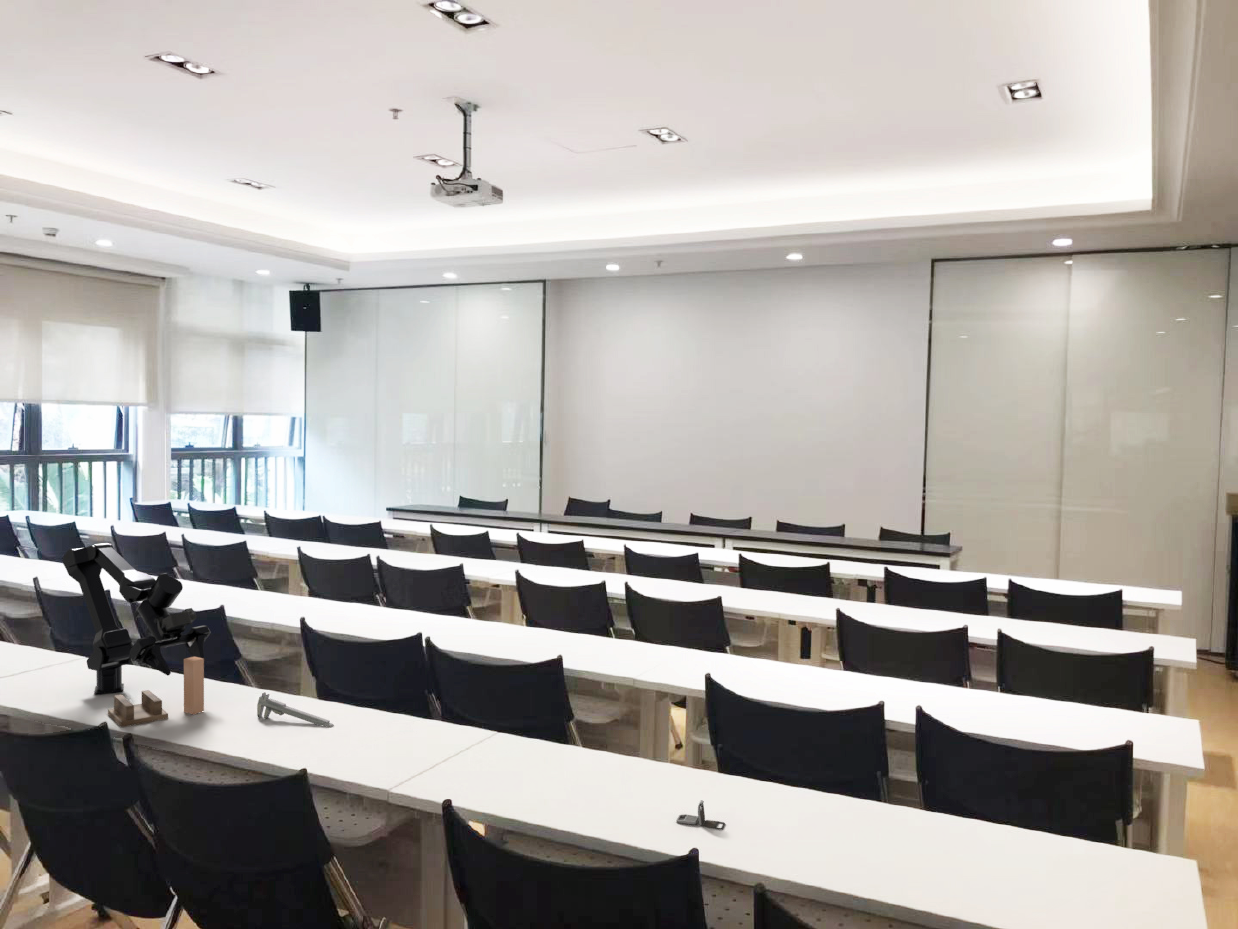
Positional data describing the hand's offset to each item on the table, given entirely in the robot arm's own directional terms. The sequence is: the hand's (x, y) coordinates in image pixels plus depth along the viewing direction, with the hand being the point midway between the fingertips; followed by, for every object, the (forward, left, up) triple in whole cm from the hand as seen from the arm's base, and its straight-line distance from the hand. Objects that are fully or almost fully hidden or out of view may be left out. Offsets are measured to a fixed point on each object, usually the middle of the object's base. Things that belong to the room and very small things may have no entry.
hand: (186, 670), depth 223 cm
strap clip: (+106, +81, -10) cm, 134 cm away
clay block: (+2, +2, -10) cm, 10 cm away
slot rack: (+1, -10, -10) cm, 14 cm away
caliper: (+19, +23, -10) cm, 31 cm away
